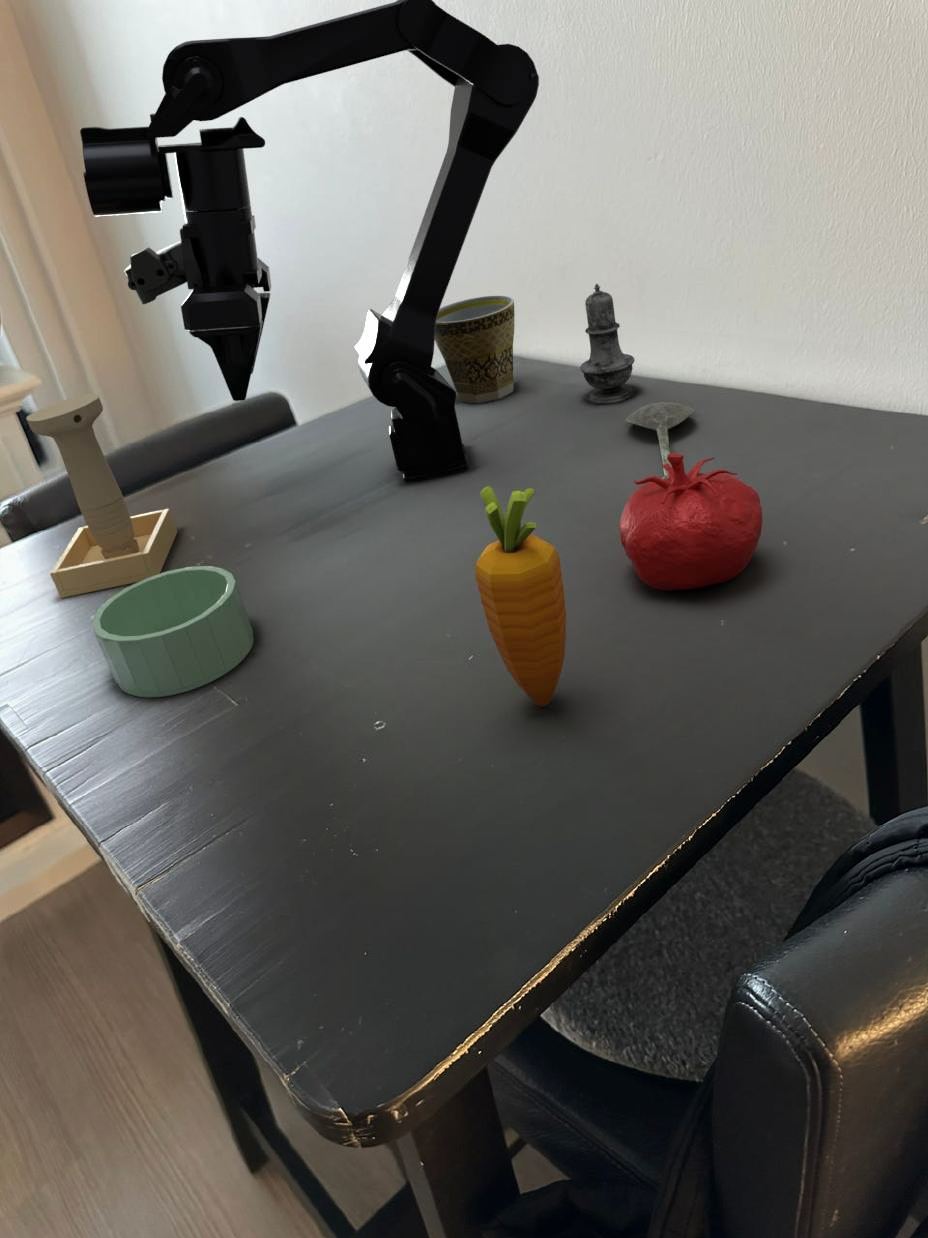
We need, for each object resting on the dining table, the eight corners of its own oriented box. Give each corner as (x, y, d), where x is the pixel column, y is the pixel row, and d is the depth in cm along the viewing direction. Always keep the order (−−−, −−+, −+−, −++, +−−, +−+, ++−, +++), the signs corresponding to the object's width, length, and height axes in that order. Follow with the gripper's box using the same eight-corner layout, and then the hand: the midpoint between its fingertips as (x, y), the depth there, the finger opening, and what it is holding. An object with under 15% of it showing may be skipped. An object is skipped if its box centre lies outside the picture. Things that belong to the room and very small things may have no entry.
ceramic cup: (545, 381, 120) (531, 295, 115) (489, 412, 115) (472, 323, 110) (466, 374, 129) (450, 294, 124) (410, 403, 123) (391, 320, 118)
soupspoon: (694, 417, 103) (629, 429, 105) (690, 384, 102) (624, 397, 103) (709, 501, 84) (628, 514, 86) (703, 462, 83) (622, 477, 84)
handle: (164, 547, 98) (107, 396, 90) (104, 577, 94) (40, 423, 87) (141, 537, 101) (84, 391, 94) (82, 566, 98) (18, 417, 90)
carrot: (500, 692, 67) (454, 480, 59) (575, 676, 66) (539, 462, 59) (509, 736, 62) (461, 514, 55) (590, 720, 62) (552, 494, 55)
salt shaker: (636, 400, 108) (623, 286, 103) (581, 407, 110) (565, 295, 104) (639, 382, 113) (627, 272, 107) (586, 389, 115) (571, 280, 109)
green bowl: (261, 608, 84) (242, 555, 81) (245, 680, 74) (224, 621, 72) (133, 635, 84) (111, 582, 82) (101, 709, 75) (75, 652, 72)
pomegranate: (769, 599, 70) (762, 473, 65) (622, 610, 72) (605, 490, 68) (760, 533, 78) (753, 418, 73) (628, 545, 81) (614, 434, 76)
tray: (177, 531, 102) (169, 508, 101) (158, 577, 93) (148, 552, 92) (88, 550, 103) (78, 527, 101) (60, 598, 94) (49, 573, 92)
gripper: (140, 201, 96) (169, 368, 103) (100, 227, 80) (139, 422, 87) (260, 195, 97) (281, 360, 104) (245, 218, 81) (271, 412, 88)
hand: (243, 386), depth 96 cm, fingers open, 9 cm apart
